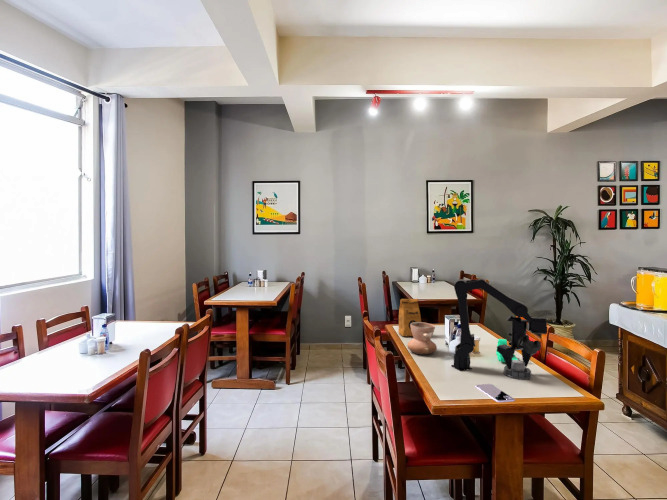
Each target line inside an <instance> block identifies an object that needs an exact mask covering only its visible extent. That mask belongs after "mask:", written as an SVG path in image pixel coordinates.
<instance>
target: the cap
mask: <svg viewBox="0 0 667 500" xmlns="http://www.w3.org/2000/svg"><path fill="white" fill-rule="evenodd" d="M511 370H513V371H517V372H525V362H523V360H519V359H518V360H512V365H511Z"/></svg>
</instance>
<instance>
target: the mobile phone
mask: <svg viewBox="0 0 667 500" xmlns="http://www.w3.org/2000/svg"><path fill="white" fill-rule="evenodd" d="M474 387H475V388H476V389H477V390H479V391H480V392H482V394H485V395H486V396H488V397H489V398H490V399H491V400H493V401H495V402H497V403H509V402H511V403H512V402H515V401H516V400H515V398H513V397H512V396H511V395H509V394H507V393H506V392H505V391H503V390H501V389H500V388H498V387H497V386H495V385H493V384H491V383H485V384H475V386H474Z"/></svg>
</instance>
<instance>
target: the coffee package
mask: <svg viewBox="0 0 667 500" xmlns="http://www.w3.org/2000/svg"><path fill="white" fill-rule="evenodd" d="M399 301H400V302H399V303H400V304H399V310H398V334H399V335H400V336H402V337H413V334H412V331H411V326H410V324H411V323H414V322H422V318H421V316H422V315H421V311H420V307H419V298H401V299H400V300H399Z"/></svg>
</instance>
